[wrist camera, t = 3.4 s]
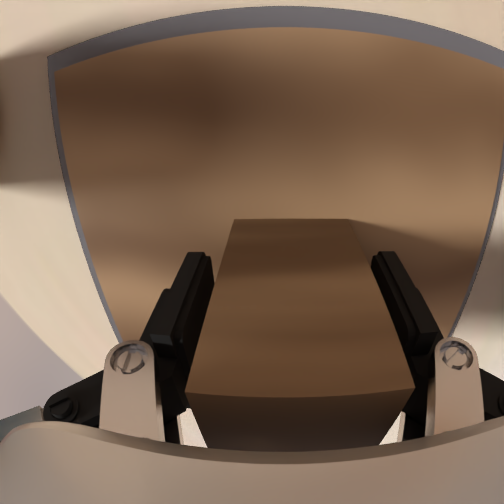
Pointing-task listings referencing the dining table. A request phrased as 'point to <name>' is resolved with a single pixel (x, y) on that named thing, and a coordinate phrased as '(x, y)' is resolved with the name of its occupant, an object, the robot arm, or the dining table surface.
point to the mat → (262, 19)
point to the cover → (285, 211)
